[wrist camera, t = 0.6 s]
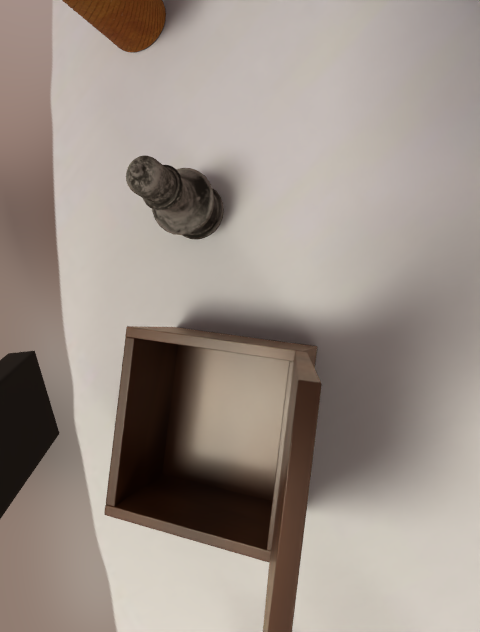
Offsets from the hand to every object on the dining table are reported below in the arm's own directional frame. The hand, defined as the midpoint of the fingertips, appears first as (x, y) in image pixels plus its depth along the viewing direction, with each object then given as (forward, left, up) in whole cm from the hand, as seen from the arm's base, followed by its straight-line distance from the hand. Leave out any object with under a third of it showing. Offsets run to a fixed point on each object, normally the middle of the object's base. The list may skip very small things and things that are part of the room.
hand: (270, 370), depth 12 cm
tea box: (+8, -9, -26) cm, 29 cm away
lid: (+8, -1, -10) cm, 13 cm away
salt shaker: (-11, -15, -26) cm, 32 cm away
